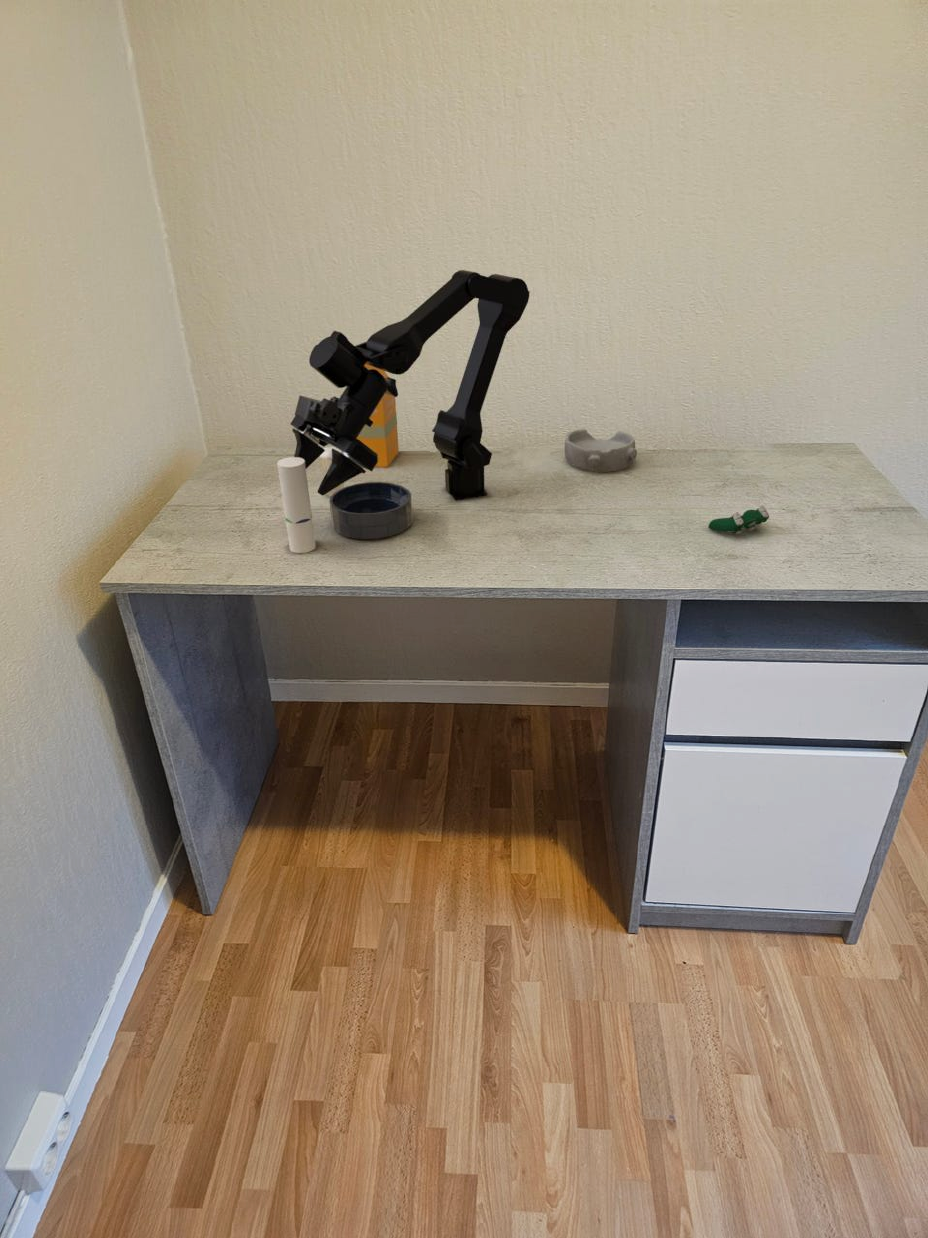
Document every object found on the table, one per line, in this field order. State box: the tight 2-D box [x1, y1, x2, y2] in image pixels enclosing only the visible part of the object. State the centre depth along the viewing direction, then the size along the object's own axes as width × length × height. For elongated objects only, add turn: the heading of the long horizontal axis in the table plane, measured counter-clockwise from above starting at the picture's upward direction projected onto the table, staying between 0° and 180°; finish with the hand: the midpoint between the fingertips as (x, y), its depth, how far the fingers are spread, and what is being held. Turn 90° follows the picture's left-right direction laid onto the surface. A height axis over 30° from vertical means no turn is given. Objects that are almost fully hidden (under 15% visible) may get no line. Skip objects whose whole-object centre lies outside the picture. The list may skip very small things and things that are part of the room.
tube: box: [276, 456, 317, 554], centre depth 136 cm, size 4×4×15 cm
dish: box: [564, 428, 638, 472], centre depth 168 cm, size 14×14×5 cm
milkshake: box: [318, 446, 345, 498], centre depth 156 cm, size 4×5×10 cm
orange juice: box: [357, 364, 400, 468], centre depth 169 cm, size 8×9×20 cm
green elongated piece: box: [707, 505, 770, 535], centre depth 140 cm, size 9×4×6 cm
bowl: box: [328, 481, 414, 540], centre depth 145 cm, size 14×14×5 cm
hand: (305, 485), depth 135 cm, fingers open, 9 cm apart
